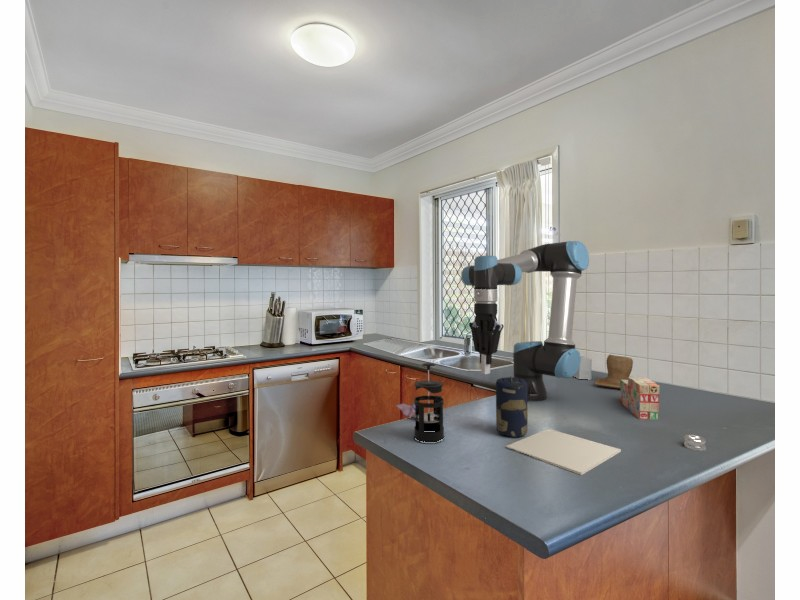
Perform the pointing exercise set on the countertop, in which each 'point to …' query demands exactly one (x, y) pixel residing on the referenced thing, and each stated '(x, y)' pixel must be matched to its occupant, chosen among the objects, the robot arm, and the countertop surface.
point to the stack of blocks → (641, 397)
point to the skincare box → (584, 369)
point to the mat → (565, 450)
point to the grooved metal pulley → (694, 442)
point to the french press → (429, 419)
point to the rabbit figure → (407, 409)
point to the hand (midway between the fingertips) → (485, 373)
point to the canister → (511, 406)
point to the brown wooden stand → (616, 371)
